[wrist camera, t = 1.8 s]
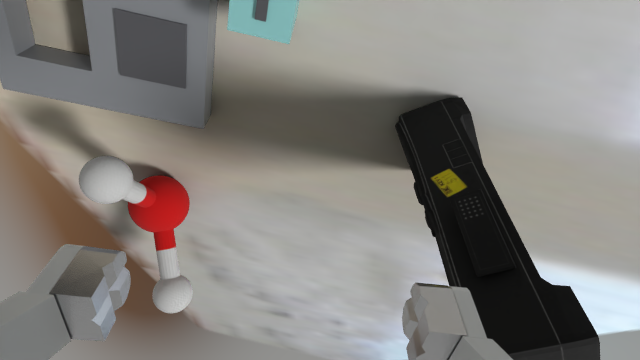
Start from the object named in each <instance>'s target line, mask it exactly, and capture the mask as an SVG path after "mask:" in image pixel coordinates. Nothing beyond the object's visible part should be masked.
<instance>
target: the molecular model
mask: <svg viewBox="0 0 640 360" xmlns="http://www.w3.org/2000/svg"><path fill="white" fill-rule="evenodd" d="M79 185H80V188H81V190H82V192H83V193H84V194H85V195H86V196H87V197H88V198H89V199H91V200H92V201H95V202H98V203H103V204H110V203H115V202H118V201H120V200H121V199H123V200H125V201H128V210H129V214H130V216H131V218H132V220H133V221H134V222H135V223H136V224H137V225H138V226H139V227H141V228H142V229H144V230H146V231H149V232H153V233H154V239H155V246H156V252H157V259H158V266H159V272H160V280H159V281H158V282H157V284H156V285H155V287H154V290H153V301H154V303H155V305H156V306H157V308H159V309H160V310H161V311H163V312H166V313H176V312H179V311H181V310H183V309H184V308H185V307H186V306H187V305H188V304H189V303H190V301H191V299H192V295H193V289H192V285H191V283H190V281H189V280H188V279H187V278H186V277H184V276H182V275H180V269H179V263H178V256H177V250H176V243H175V236H174V230H173V229H174V228H176V227H177V226H178V225H180V224H181V223H182V222H183V220H184V219H185V217H186V216H187V213H188V210H189V196H188V193H187V191H186V190H185V188H184V187H183V186H182V185H181V184H180V183H179V182H178V181H177V180H175V179H173V178H170V177H167V176H151V177H148V178H146V179H144V180H142V181H140V182H137V181H135V180H133V174H132V171H131V169H130V167H129V166H128V165H127V164H126V163H125V162H124V161H122V160H120V159H119V158H116V157H112V156H100V157H96V158H94V159H92V160H90V161H88V162H87V163H86V164H85V165H84V166H83V168H82V170H81V172H80V175H79Z"/></svg>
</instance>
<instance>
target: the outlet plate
mask: <svg viewBox="0 0 640 360" xmlns="http://www.w3.org/2000/svg"><path fill="white" fill-rule="evenodd" d="M83 8H84V15H85V22H86V30H87V37H88V44H89V51H90V56H88V55H83V54H78V53H74V52H69V51H64V50H60V49H55V48H50V47H46V46H41V45H36V44H35V40H34V36H33V31H32V27H31V22H30V18H29V13H28V9H27V4H26V0H0V80H1V83H2V86H3V89H7V90H12V91H17V92H22V93H27V94H32V95H37V96H42V97H47V98H52V99H57V100H62V101H67V102H71V103H76V104H81V105H86V106H91V107H96V108H101V109H106V110H111V111H116V112H121V113H126V114H131V115H136V116H141V117H146V118H151V119H156V120H161V121H166V122H171V123H176V124H181V125H186V126H191V127H196V128H201V129H204V127H205V125H206V123H207V121H208V119H209V117H210V115H211V101H212V84H213V67H214V50H215V33H216V16H217V0H83Z"/></svg>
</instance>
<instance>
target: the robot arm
mask: <svg viewBox="0 0 640 360" xmlns="http://www.w3.org/2000/svg"><path fill="white" fill-rule="evenodd" d="M126 261H127V258H126V255H125V252H123V251H117V250H108V249H101V248H94V247H87V246H77V245H69V244H65V245H64V246H62V247H61V248H59V250H58V251H57V252H56V254H55V255H54V256H53V257H52V259H51V260H50V261H49V262H48V264H47V265H46V266H45V268H44V269H43V270H42V272H41V273H40V274H39V276H38V277H37V278H36V279H35V281H34V282H33V283H32V284H31V286H30V287H29V288H28V290H27V291H26V292H18V293H16V294H14V295H12V296H11V297H9V298H7V299H5V300H3V301H1V302H0V360H48V359H50V358H51V357H52V356H53V355H54V354H56V353H57V352H58V351H59V350H61V349H62V348H63V347H64V346H66V345H67V344H68V343H69V342H71V339H80V340H95V341H105V339H106V337H107V336H108V333H109V331H110V330H111V328H112V326H113V324H114V322H115V320H116V318H115V314H114V311H115V310H117V309H118V308H120V307H121V306H122V305H123V304H124V302H125V300H126V298H127V296H128V292H129V288H130V273H129V271H128V270H127V269H126V268H125V267H124V265H125V263H126ZM411 296H412V298H410V299H409V300H407V301H406V303H405V306H404V308H403V316H402V321H403V330H404V334H405V335H406V336H407V337H408V339H409V340H410V341H409V343H408V345H407V354H408V359H409V360H513V359H512V358H511V357H510V356H509V355H508V354H507V353H506V352H505V351H504V350H503V349H502V348H501V347H500V346H499V345H498V344H497V343H496V342H495V341H494V340H493V339H487V337H486V334H485V331H484V328H483V326H482V323H481V320H480V318H479V315H478V312H477V309H476V307H475V304H474V301H473V299H472V296H471V293H470V291H469V290H468V289H467V288H462V287H453V286H445V285H435V284H424V283H415V284H414V285H413V286H412V288H411Z"/></svg>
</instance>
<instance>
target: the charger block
mask: <svg viewBox="0 0 640 360" xmlns="http://www.w3.org/2000/svg"><path fill="white" fill-rule="evenodd" d="M298 5H299V0H230V1H229V14H228V27H227V30H230V31H234V32H239V33H243V34H248V35H252V36H256V37H261V38H265V39H269V40H274V41H278V42H282V43H287V44H289V43H290V39H291V36H292V32H293V28H294V24H295V21H296V16H297V11H298Z"/></svg>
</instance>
